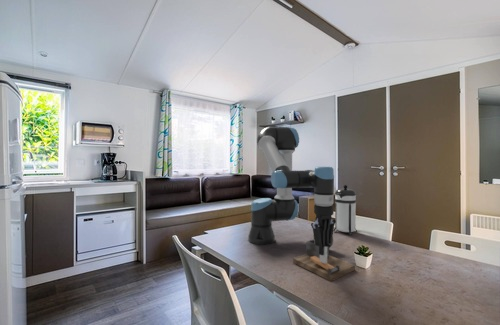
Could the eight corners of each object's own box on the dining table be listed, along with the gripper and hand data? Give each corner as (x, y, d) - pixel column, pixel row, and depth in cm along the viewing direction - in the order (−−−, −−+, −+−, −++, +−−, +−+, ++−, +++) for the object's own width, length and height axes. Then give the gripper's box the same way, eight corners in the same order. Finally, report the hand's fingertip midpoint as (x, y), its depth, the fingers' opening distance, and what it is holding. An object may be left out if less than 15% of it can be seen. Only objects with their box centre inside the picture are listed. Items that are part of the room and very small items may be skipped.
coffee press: (364, 235, 145) (364, 186, 145) (337, 235, 145) (337, 186, 145) (352, 227, 163) (352, 183, 162) (328, 227, 163) (328, 183, 162)
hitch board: (293, 262, 107) (293, 244, 107) (316, 254, 117) (316, 238, 117) (331, 281, 91) (331, 260, 91) (355, 270, 100) (355, 251, 100)
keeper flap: (309, 259, 102) (309, 257, 102) (315, 257, 104) (315, 255, 104) (331, 273, 93) (331, 271, 93) (337, 270, 95) (338, 268, 95)
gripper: (320, 207, 91) (320, 269, 91) (341, 204, 99) (341, 261, 99) (305, 204, 97) (305, 262, 97) (326, 201, 105) (325, 255, 105)
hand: (323, 262), depth 98 cm, fingers closed
